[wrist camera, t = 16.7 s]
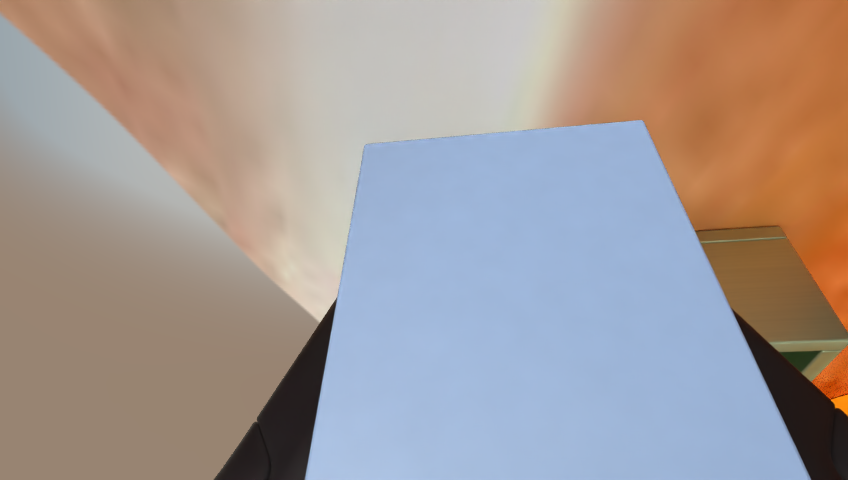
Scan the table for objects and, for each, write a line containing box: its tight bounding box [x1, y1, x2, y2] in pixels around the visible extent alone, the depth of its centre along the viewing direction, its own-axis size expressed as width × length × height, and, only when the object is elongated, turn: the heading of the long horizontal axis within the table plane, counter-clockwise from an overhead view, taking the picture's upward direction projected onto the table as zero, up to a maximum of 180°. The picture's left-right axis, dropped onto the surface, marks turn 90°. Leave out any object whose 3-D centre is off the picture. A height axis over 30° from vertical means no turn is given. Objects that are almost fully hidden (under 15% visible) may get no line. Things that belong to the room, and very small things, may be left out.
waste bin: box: [695, 226, 848, 381], centre depth 28 cm, size 12×15×6 cm
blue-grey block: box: [305, 120, 811, 480], centre depth 8 cm, size 5×5×6 cm
